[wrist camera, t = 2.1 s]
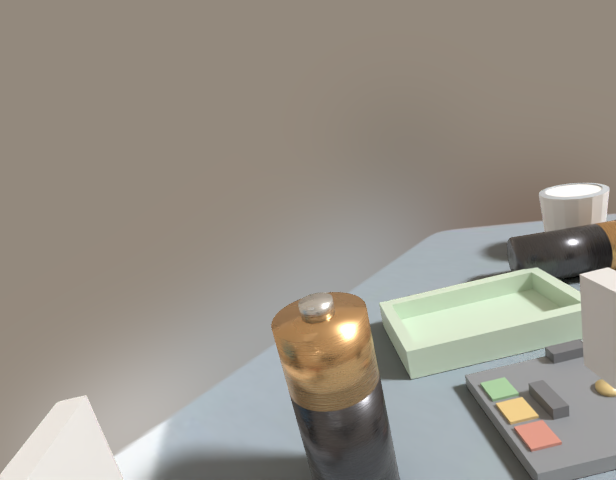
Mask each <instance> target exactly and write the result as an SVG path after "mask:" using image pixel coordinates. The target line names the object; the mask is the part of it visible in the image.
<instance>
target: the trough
mask: <svg viewBox="0 0 616 480" xmlns="http://www.w3.org/2000/svg"><path fill="white" fill-rule="evenodd" d="M379 305H380V310H381V316H382V321H383V326H384V328H385V330H386V332H387V334H388V336H389V338H390V340H391V342H392V343H393V345H394V347H395V349H396V351H397V353H398V355H399V357H400V359H401V361H402V363H403V365H404V367H405V369H406V370H407V372H408V374H409V376H410V378H411V379H415V378H419V377H424V376H428V375H432V374H436V373H441V372H445V371H449V370H453V369H457V368H462V367H466V366H470V365H474V364H479V363H483V362H487V361H491V360H495V359H500V358H504V357H508V356H512V355H517V354H521V353H525V352H529V351H533V350H538V349H542V348H545V347H547V346H552V345H556V344H560V343H564V342H569V341H573V340H577V339H583V336H582V315H581V295H580V292H579V291H578V290H576V289H574V288H572V287H571V286H569V285H567V284H566V283H564V282H562V281H560V280H559V279H557V278H555V277H553V276H552V275H550V274H548V273H546V272H545V271H543V270H541V269H539V268H538V267H537V268H530V269H522V270H518V271H513V272H509V273H505V274H501V275H496V276H492V277H488V278H483V279H479V280H475V281H471V282H466V283H462V284H458V285H454V286H449V287H445V288H441V289H437V290H432V291H428V292H424V293H420V294H415V295H411V296H407V297H402V298H398V299H394V300H390V301H385V302H381V303H379Z"/></svg>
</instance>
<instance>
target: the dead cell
mask: <svg viewBox="0 0 616 480" xmlns="http://www.w3.org/2000/svg"><path fill="white" fill-rule="evenodd" d="M507 254H508V261H509V265H510V269H511V272H513V271H518V270H522V269H530V268H537V267H538V268H539V269H541V270H543V271H545V272H546V273H548V274H550V275H552V276H553V277H555V278H557V279H563V278H569V277H576V276H580V274H583V273H587V272H591V271H595V270H599V269H603V268H607V267H608V268H611V269H613V270H615V271H616V220H614V221H608V222H602V223H596V224H590V225H584V226H578V227H572V228H566V229H560V230H554V231H548V232H542V233H536V234H530V235H524V236H518V237H512V238H510V239H509V240H508V244H507Z"/></svg>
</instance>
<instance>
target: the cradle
mask: <svg viewBox="0 0 616 480" xmlns="http://www.w3.org/2000/svg"><path fill="white" fill-rule="evenodd" d="M545 353H546V356H545V357H540V358H536V359H532V360H528V361H523V362H519V363H515V364H511V365H507V366H502V367H498V368H494V369H490V370H486V371H481V372H477V373H473V374H469V375H465V378H466V386H467V388H468V389H469V391H470V392H471V393H472V395H473V396H474V398H475V399H476V400H477V402H478V403H479V405H480V406H481V407H482V409H483V410H484V412H485V413H486V414H487V416H488V417H489V419H490V420H491V422H492V423H493V424H494V426H495V427H496V429H497V430H498V431H499V433H500V434H501V436H502V437H503V438H504V440H505V441H506V443H507V444H508V445H509V447H510V448H511V450H512V451H513V452H514V454H515V455H516V457H517V458H518V459H519V461H520V462H521V464H522V465H523V467H524V468H525V469H526V471H527V472H528V474H529V475H530V476H531V478H532V479H533V480H574V479H578V478H582V477H586V476H590V475H594V474H598V473H603V472H607V471H611V470H615V469H616V389H614V388H613V387H612V386H610V385H609V384H608V383H607V382H605V381H604V380H603V379H602V378H600V377H599V376H598V375H596V374H595V373H594V372H593V371H591V370H590V369H589V368H587V367H586V366H585V365H584V357H583V342H582V341H581V340H580V339H577V340H573V341H569V342H564V343H560V344H556V345H552V346H547V347H545Z"/></svg>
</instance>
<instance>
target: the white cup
mask: <svg viewBox="0 0 616 480" xmlns="http://www.w3.org/2000/svg"><path fill="white" fill-rule="evenodd" d="M608 197H609V187H608V186H606V185H603V184H597V183H572V184H563V185H557V186H553V187H549V188H546V189H544V190H542V191H540V193H539V199H540V205H541V211H542V217H543V223H544V230H545V232H548V231H554V230H560V229H566V228H572V227H578V226H584V225H590V224H596V223H602V222H606V216H607V207H608Z"/></svg>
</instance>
